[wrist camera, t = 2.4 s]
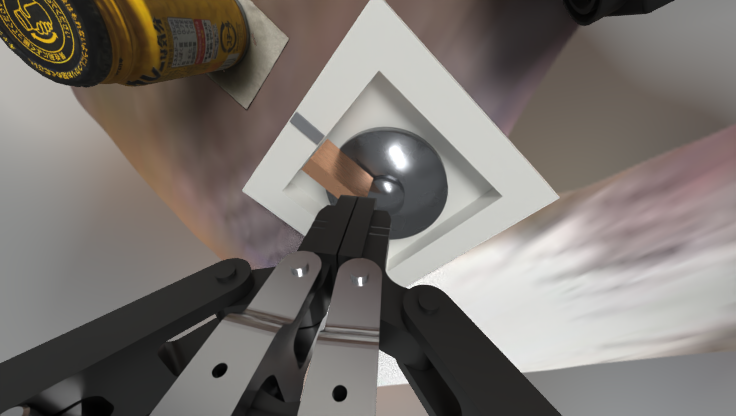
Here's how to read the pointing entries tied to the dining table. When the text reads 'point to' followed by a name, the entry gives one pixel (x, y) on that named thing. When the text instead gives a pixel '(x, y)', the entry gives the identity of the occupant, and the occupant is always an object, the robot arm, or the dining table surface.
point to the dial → (385, 176)
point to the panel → (413, 113)
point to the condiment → (144, 41)
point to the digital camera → (609, 8)
